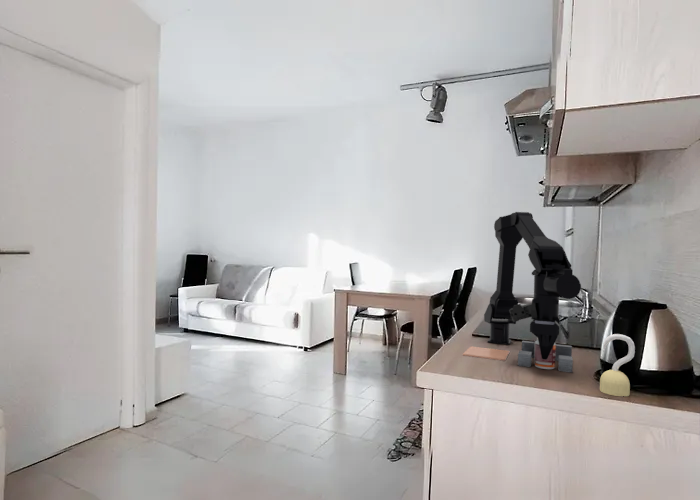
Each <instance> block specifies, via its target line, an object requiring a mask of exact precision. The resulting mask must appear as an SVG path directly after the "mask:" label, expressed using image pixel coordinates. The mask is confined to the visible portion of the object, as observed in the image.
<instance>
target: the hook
mask: <svg viewBox="0 0 700 500" xmlns="http://www.w3.org/2000/svg"><path fill="white" fill-rule="evenodd" d="M614 340H621V341H624V342H626V344H627V345H628V346H627V347H628V352H627V355H625V356H624V357H622V358H619V359H618V360H616V361H615V362H614V363H613V365H612V367H611V369H609V370H606V371H604V372H603V373H602V374H601V376H600V379H599V391H600V392H601V393H603V394H605V395H610V396H615V397H623V396H624V397H629V396H630V391H631V390H630V389H631V384H630V380H629V377H628V376H627V375H626V374H625V373H624V372H622V371H621V370H619V369H620V367H621V366H622V365H624V364H627V363H628V362H630V361H631V360H632V359H634V357H635V353H636V351H635V350H636V346H635V343H634V341H633V339H632V338H631V337H629V336H627V335H625V334H620V333H614V334H610V335H608V336H607V337H606V338H605V339H604V341H603V349H602V350H603V351H602V353H604V352H605V349H606V348H607V346H608V345H609V343H610V342H612V341H614Z"/></svg>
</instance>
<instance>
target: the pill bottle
mask: <svg viewBox="0 0 700 500" xmlns="http://www.w3.org/2000/svg"><path fill="white" fill-rule="evenodd" d="M534 342H535V358H534V363H533V364H534V366H535V367H536V368H538V369H541V370H543V369H544V370H554V369H555V368H556V361H555V354H556V344H557V343H556V342H555V343H554V345H553V347H552V350H551V352H550V354H549V356H548V358H547V359H542V356H541V351H540V346H539V341H538V338H537V337H536V340H535V341H534Z"/></svg>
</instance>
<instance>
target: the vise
mask: <svg viewBox="0 0 700 500" xmlns="http://www.w3.org/2000/svg"><path fill="white" fill-rule="evenodd" d="M555 344H556V354H555V362H556V361H557V362H558V371H559V372H564V373H573V362H574V361H573V353H572V352H573V351H572V350H573V346H572V345H565V344H557V343H555ZM533 359H535V341H530V340H529V341H528V340H522V341H521V350H519V351H518V353H517V366H519V367H526V368H531V367H532V364H533V362H532V361H533Z"/></svg>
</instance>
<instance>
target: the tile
mask: <svg viewBox="0 0 700 500" xmlns="http://www.w3.org/2000/svg"><path fill="white" fill-rule="evenodd" d="M510 353H511V351H510V350H505V349H504V350H503V349H497V348H490V347H489V348H488V347H487V348H486V347H478V346H472V345H471V346H469V347H468V348H467V349H466V350H465V351H464V352H463V353H462V356H466V357H472V358H473V357H475V358H480V359H490V360H496V361H503V362H504V361H507V359H508V357H509V355H510Z"/></svg>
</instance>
